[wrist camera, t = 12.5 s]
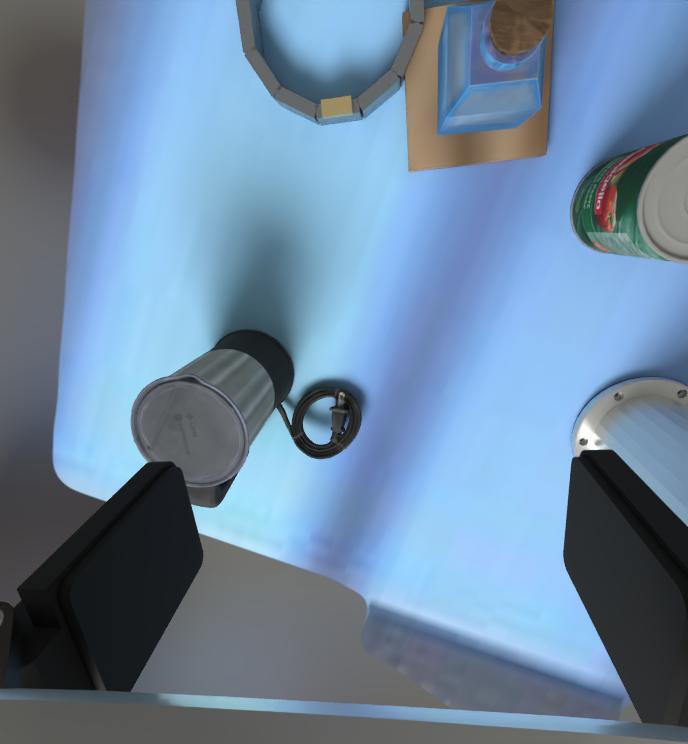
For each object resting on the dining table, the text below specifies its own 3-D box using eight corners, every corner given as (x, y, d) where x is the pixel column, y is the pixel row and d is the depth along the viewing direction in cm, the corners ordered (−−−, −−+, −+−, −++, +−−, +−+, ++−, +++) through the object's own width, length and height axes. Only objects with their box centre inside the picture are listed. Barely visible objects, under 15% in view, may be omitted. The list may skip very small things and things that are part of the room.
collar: (417, -111, 30) (420, -146, 27) (424, 112, 35) (427, 102, 32) (234, -72, 32) (218, -102, 29) (263, 134, 37) (252, 127, 34)
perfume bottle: (521, 35, 32) (592, -69, 20) (516, 128, 34) (577, 80, 22) (438, 45, 32) (461, -50, 21) (437, 135, 34) (458, 92, 23)
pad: (549, -6, 31) (555, -14, 30) (541, 156, 35) (546, 154, 34) (402, 19, 33) (402, 12, 32) (408, 172, 37) (409, 170, 35)
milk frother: (201, 332, 44) (111, 382, 30) (349, 314, 41) (326, 360, 28) (232, 451, 48) (166, 542, 34) (366, 441, 46) (355, 535, 32)
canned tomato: (655, 255, 37) (757, 267, 26) (561, 251, 37) (624, 262, 27) (682, 153, 34) (807, 123, 24) (580, 152, 35) (659, 122, 24)
